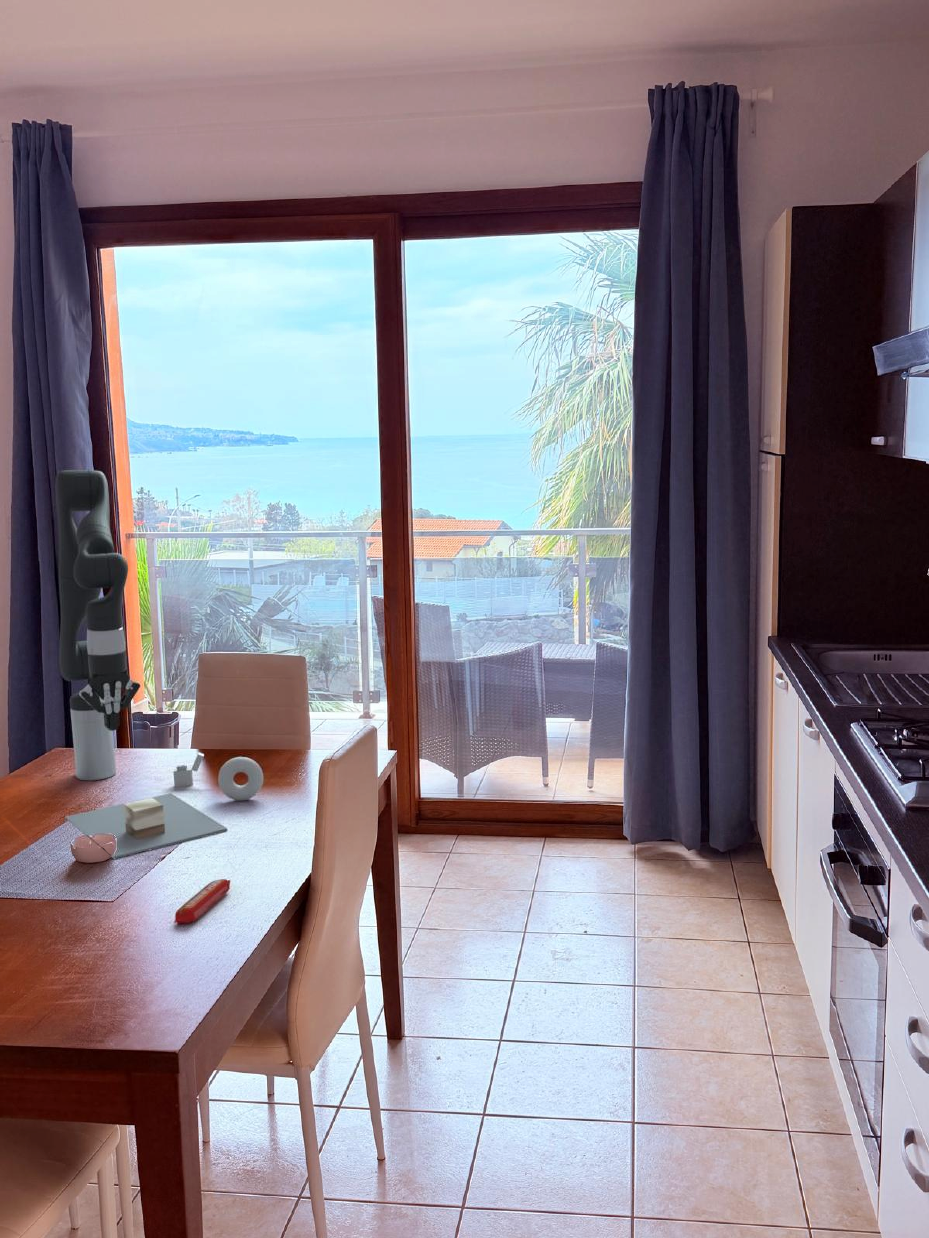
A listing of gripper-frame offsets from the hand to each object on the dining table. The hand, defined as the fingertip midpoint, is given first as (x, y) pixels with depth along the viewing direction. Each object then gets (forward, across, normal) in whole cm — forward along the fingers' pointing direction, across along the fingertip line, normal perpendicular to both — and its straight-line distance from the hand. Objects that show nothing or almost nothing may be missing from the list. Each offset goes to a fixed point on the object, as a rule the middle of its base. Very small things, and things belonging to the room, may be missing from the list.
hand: (112, 729), depth 232 cm
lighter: (+21, -21, -12) cm, 32 cm away
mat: (+20, -3, +6) cm, 21 cm away
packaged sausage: (+19, +5, +54) cm, 57 cm away
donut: (+20, -26, +5) cm, 34 cm away
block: (+13, -1, +12) cm, 18 cm away
